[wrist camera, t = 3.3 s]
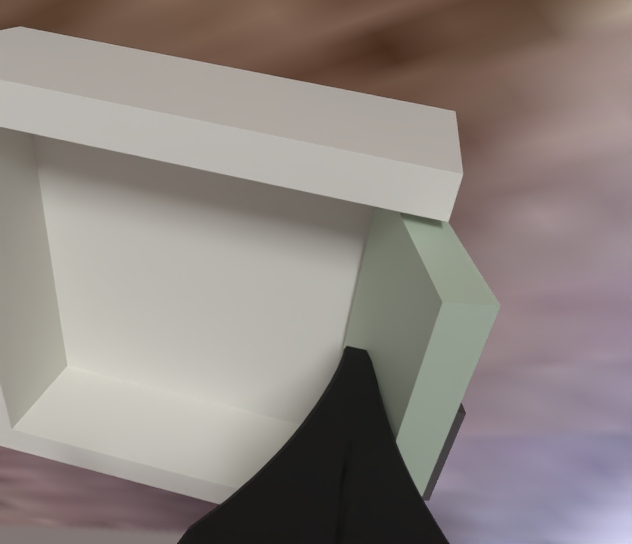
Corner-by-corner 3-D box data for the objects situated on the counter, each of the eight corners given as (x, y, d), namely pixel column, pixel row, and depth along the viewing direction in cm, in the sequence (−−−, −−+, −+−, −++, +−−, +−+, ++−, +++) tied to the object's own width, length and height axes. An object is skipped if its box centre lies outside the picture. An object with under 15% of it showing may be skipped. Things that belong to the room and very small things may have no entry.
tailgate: (445, 182, 13) (534, 307, 9) (369, 438, 18) (403, 595, 14) (381, 176, 13) (442, 302, 8) (323, 438, 18) (343, 596, 14)
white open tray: (455, 111, 14) (463, 174, 10) (365, 427, 20) (349, 539, 16) (20, 26, 15) (-125, 54, 11) (68, 353, 21) (-12, 442, 17)
